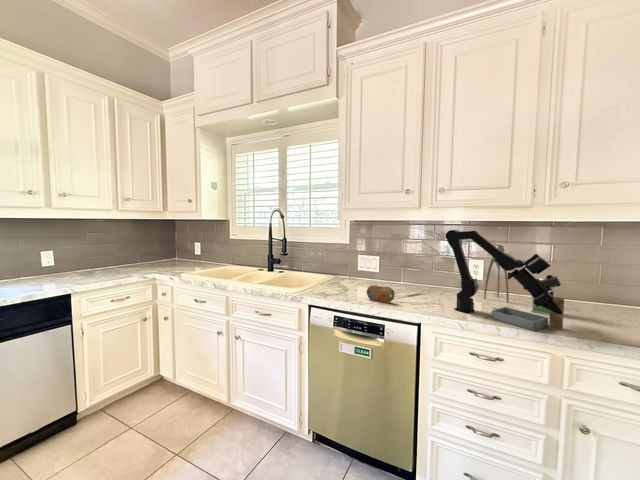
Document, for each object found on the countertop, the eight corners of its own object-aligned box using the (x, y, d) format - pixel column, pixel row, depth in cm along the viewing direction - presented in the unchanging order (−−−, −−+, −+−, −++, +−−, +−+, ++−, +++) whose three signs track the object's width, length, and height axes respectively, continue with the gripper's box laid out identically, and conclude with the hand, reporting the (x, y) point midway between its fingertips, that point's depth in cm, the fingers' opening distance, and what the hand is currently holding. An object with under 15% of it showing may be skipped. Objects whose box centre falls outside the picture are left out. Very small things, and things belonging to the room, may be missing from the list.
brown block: (549, 327, 110) (550, 298, 109) (549, 325, 113) (550, 296, 112) (562, 330, 107) (564, 300, 106) (561, 327, 110) (563, 298, 109)
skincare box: (531, 311, 129) (532, 279, 128) (533, 308, 134) (535, 277, 133) (554, 316, 123) (556, 282, 122) (555, 312, 128) (557, 279, 127)
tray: (491, 318, 120) (491, 310, 120) (504, 314, 126) (505, 306, 125) (534, 331, 106) (535, 322, 106) (547, 325, 112) (548, 317, 112)
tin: (366, 299, 150) (366, 284, 149) (368, 298, 152) (369, 283, 152) (392, 304, 141) (393, 288, 140) (395, 302, 143) (395, 287, 143)
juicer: (483, 298, 151) (485, 244, 149) (497, 296, 155) (500, 244, 153) (500, 303, 142) (503, 246, 140) (515, 301, 146) (518, 245, 144)
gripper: (545, 272, 104) (584, 306, 97) (546, 266, 118) (579, 295, 112) (519, 289, 109) (553, 323, 103) (522, 281, 124) (553, 310, 117)
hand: (561, 312), depth 109 cm, fingers closed on brown block, 4 cm apart
